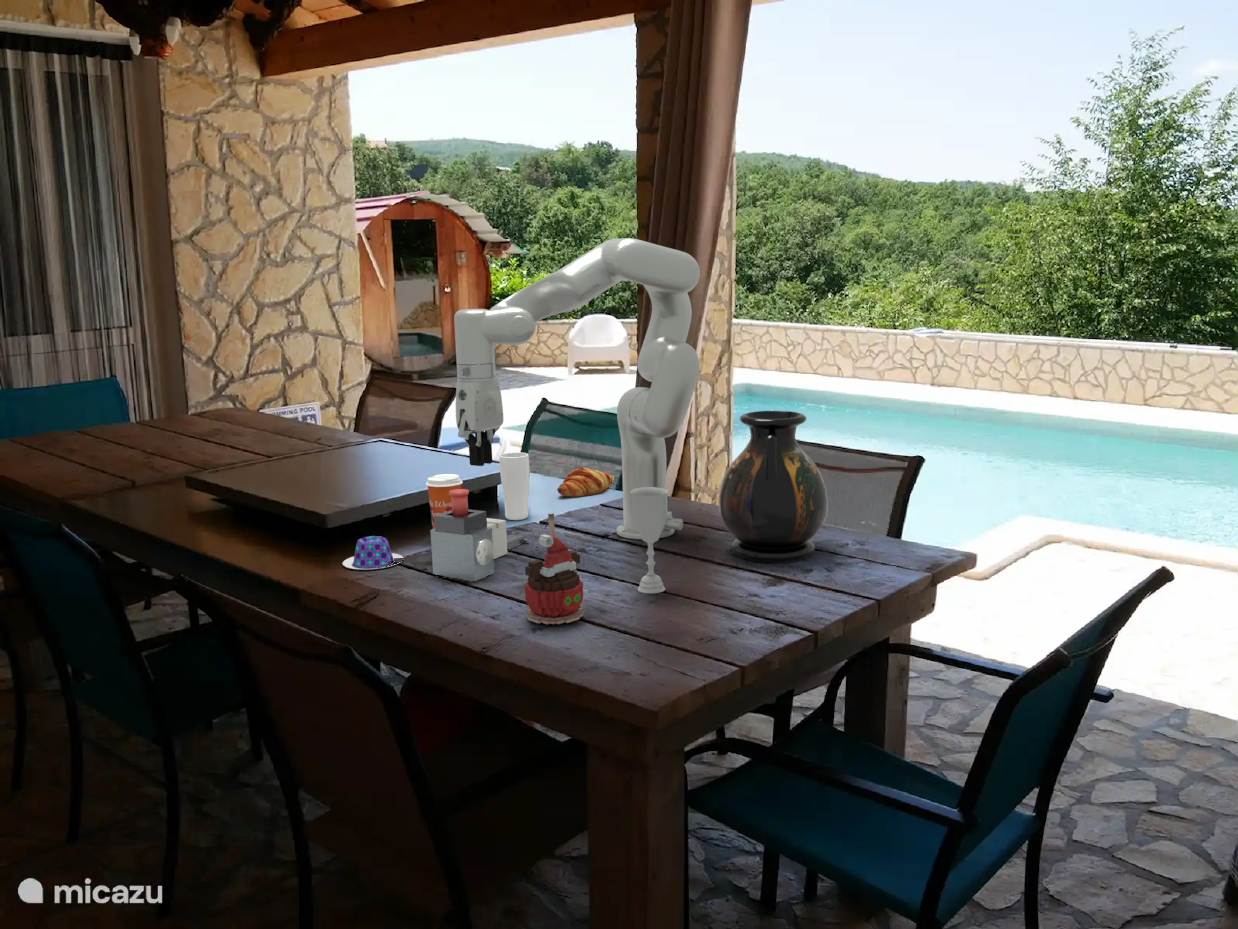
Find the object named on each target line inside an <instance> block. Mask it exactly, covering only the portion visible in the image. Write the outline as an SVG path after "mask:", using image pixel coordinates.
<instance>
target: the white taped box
mask: <svg viewBox="0 0 1238 929" xmlns="http://www.w3.org/2000/svg"><path fill="white" fill-rule="evenodd" d="M487 527H488V528H492V540H493V560H495V559H498V558H499V557H502V556H505V555H508V550H507V535H508V534H507V519H500V518H499V519H496V518H491V517H489V518H488V517H487Z"/></svg>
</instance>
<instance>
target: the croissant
mask: <svg viewBox="0 0 1238 929" xmlns="http://www.w3.org/2000/svg"><path fill="white" fill-rule="evenodd" d="M614 481H615V477H614V475H611V474H609V473H607V472H605V471H604V472H601V471H600V470H598V469H594V468H593V469H591V468H588V467H578V468H575V469H573V470H572V471H570V472H569V473H568V474H567V475H566V478H564V480H563V481H562V482H561V484H560V485H559V486H558V487H557V490H556V491H557V492H558V494H560V495H561V496H563V497H572V498H573V497H575V498H580V497H585V496H593V495H595V494H600V493H602V492H603V491H605V490H606V489H608V488H609V487H611V486H612V484H614Z"/></svg>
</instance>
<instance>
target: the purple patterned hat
mask: <svg viewBox="0 0 1238 929" xmlns="http://www.w3.org/2000/svg"><path fill="white" fill-rule="evenodd" d="M355 544H356V546H355V550H354V551H355V552H354V556H350V557H348V558H346V559H345V560H343V562H342V565H343V567H345V568H347V569H353V570H364V571H365V570H366V571H367V570H369V569H373V570H378V569H380V568H381V569H385V568H389V567H392V566H395V565H398V564H400V563H401V562H399V563H397V564H394V565H391V566H389V564H390V563H391V561H394V558H404V557H403V556H402V555H401V554H398V553H394V552H392V550H391V548H390V544H389V541H388V539H387V538H386V537H384V536H380V535H379V536H377V535H371V536H364V537H362V538H359V539H357V542H356V543H355ZM394 562H395V561H394ZM391 564H392V563H391ZM382 565H388V566H387V567H386V566H382ZM381 566H382V567H381ZM378 567H380V568H378Z"/></svg>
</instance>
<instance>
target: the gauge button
mask: <svg viewBox="0 0 1238 929" xmlns="http://www.w3.org/2000/svg"><path fill="white" fill-rule="evenodd" d="M469 491H470V490H469V489H467V488H466V489H465V488H461V489H454V490H451V491H449V493H450V495H451V500H452V515H453V516H458V517H460V516H466V515H468V509H469V502H468V500H469V499H468V495H469Z"/></svg>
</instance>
